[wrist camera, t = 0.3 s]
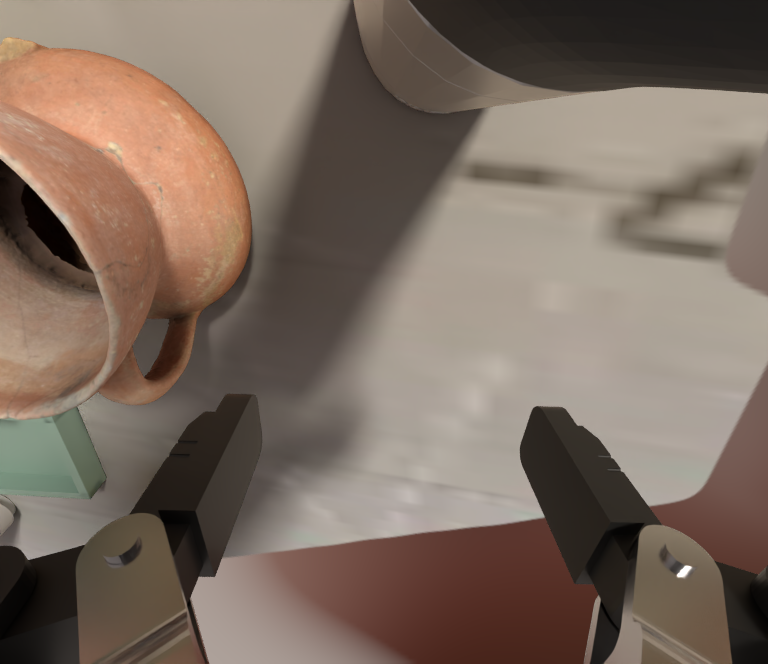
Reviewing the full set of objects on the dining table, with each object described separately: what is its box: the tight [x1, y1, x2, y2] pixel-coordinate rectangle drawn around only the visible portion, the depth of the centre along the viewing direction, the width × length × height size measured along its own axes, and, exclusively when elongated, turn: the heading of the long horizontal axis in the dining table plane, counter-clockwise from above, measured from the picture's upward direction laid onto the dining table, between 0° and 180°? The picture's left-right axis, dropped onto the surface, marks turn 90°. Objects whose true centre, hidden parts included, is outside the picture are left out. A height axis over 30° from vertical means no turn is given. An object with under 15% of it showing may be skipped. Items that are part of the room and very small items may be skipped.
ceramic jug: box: [0, 37, 252, 420], centre depth 18 cm, size 18×14×14 cm
